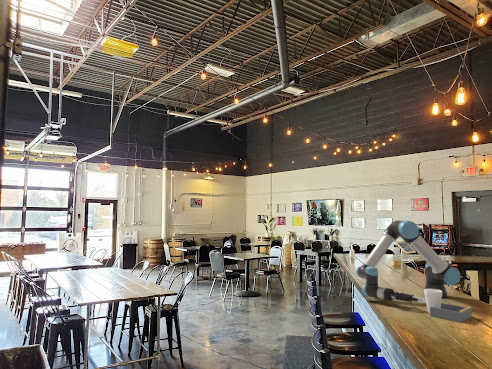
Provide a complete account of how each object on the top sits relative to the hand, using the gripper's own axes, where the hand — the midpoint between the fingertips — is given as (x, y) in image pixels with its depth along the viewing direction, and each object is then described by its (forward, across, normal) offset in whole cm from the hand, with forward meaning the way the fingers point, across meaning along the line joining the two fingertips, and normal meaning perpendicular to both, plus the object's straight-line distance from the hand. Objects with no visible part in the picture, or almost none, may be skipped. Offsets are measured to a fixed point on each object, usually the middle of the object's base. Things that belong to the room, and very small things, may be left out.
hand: (423, 300), depth 213 cm
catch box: (+14, -2, -6) cm, 15 cm away
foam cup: (+5, -2, -7) cm, 8 cm away
